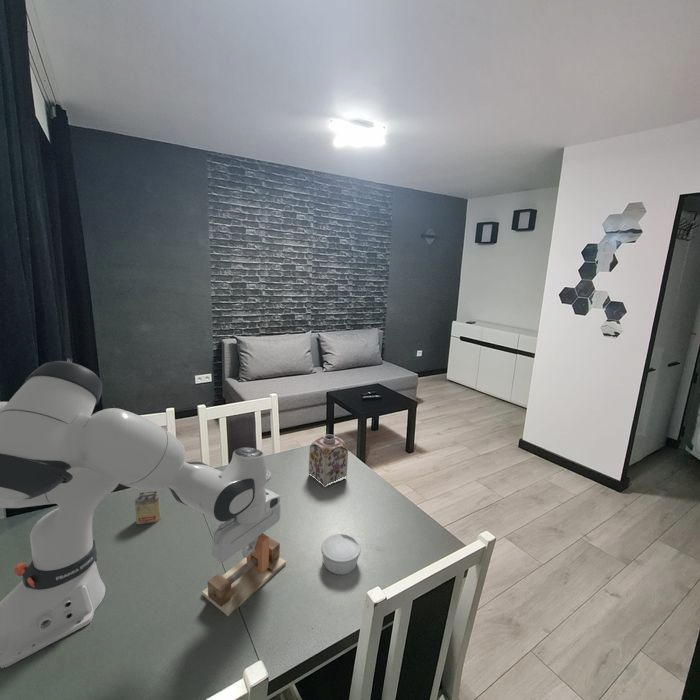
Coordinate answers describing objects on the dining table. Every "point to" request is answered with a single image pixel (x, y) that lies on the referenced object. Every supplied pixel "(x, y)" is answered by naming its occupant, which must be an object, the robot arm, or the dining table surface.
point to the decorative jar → (328, 459)
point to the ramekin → (340, 553)
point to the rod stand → (242, 581)
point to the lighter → (147, 508)
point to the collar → (261, 553)
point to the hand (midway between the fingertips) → (248, 553)
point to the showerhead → (268, 476)
